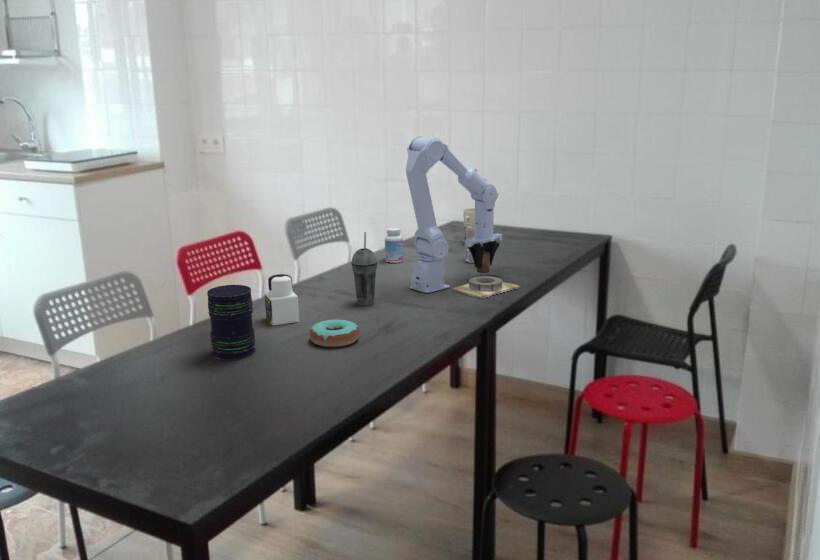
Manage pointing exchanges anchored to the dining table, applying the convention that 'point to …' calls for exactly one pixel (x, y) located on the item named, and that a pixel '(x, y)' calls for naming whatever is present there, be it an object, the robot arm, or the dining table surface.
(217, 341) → the storage jar
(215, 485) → the dining table surface
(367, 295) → the beverage cup
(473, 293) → the socket board
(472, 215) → the character mug
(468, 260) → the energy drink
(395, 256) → the pill bottle
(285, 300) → the white handled container
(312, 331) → the donut
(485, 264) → the walnut peg
